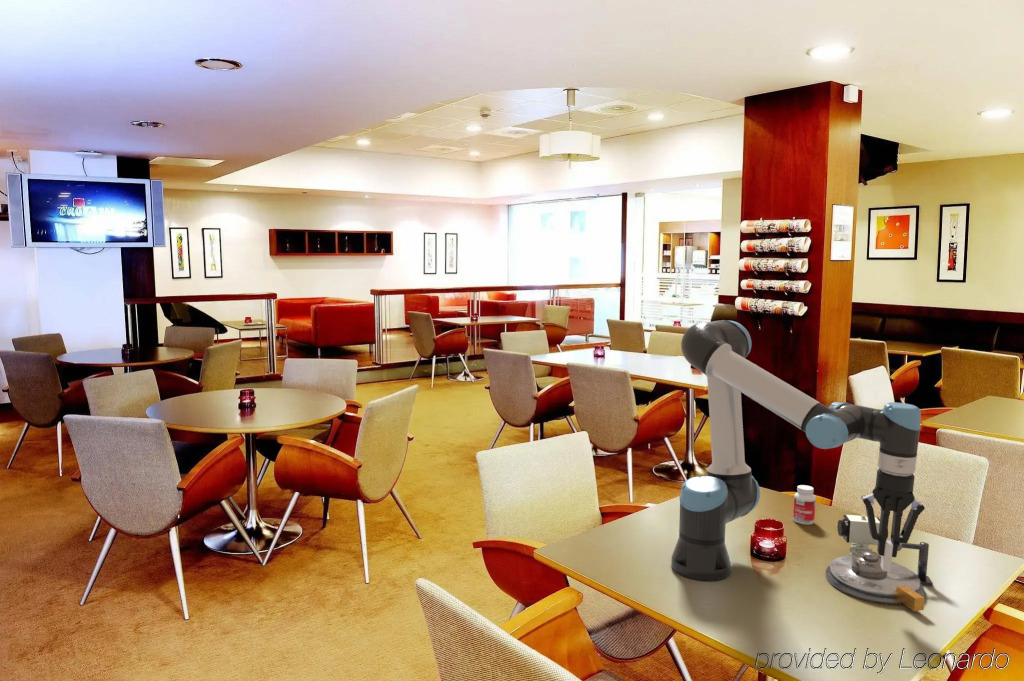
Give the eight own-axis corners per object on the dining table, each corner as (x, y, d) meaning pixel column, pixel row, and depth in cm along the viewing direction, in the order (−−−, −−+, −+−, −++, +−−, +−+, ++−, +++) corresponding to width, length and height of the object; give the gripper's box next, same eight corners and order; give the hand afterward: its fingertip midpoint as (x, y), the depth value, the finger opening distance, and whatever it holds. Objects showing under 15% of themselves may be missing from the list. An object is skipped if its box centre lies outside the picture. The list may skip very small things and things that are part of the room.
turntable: (879, 613, 157) (880, 601, 157) (813, 565, 182) (814, 554, 182) (957, 607, 160) (958, 595, 160) (882, 560, 185) (883, 549, 185)
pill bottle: (791, 523, 214) (793, 488, 213) (793, 516, 220) (795, 483, 218) (813, 526, 211) (815, 491, 210) (814, 520, 217) (817, 486, 215)
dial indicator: (887, 580, 176) (890, 540, 174) (884, 573, 180) (886, 534, 178) (932, 586, 173) (935, 545, 172) (927, 579, 177) (931, 539, 175)
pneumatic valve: (886, 562, 186) (889, 519, 185) (839, 558, 189) (842, 516, 187) (879, 554, 192) (882, 512, 190) (834, 550, 194) (837, 509, 193)
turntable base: (832, 597, 167) (833, 592, 166) (819, 560, 188) (820, 555, 187) (935, 611, 160) (936, 606, 160) (910, 570, 181) (911, 566, 181)
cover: (865, 580, 169) (866, 561, 168) (844, 566, 177) (845, 547, 176) (894, 578, 170) (896, 559, 170) (872, 564, 178) (874, 546, 177)
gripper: (867, 472, 156) (857, 571, 159) (933, 479, 152) (921, 580, 155) (861, 463, 163) (851, 557, 166) (923, 469, 159) (912, 566, 162)
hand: (885, 568), depth 161 cm, fingers closed
